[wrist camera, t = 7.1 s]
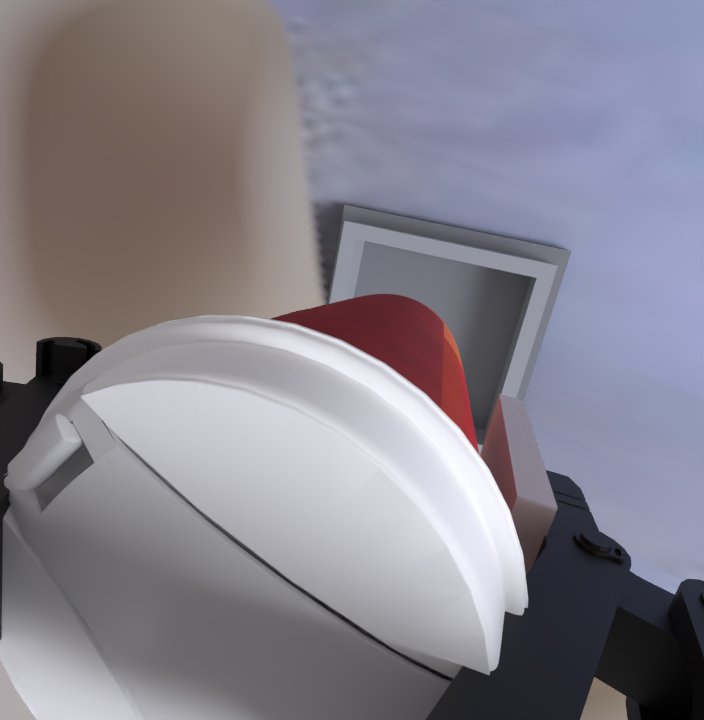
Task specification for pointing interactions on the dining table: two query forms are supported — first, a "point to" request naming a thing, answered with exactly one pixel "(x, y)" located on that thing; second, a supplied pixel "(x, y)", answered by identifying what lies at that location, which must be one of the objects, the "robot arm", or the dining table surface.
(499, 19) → the dining table surface
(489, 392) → the tray
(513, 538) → the coffee cup
